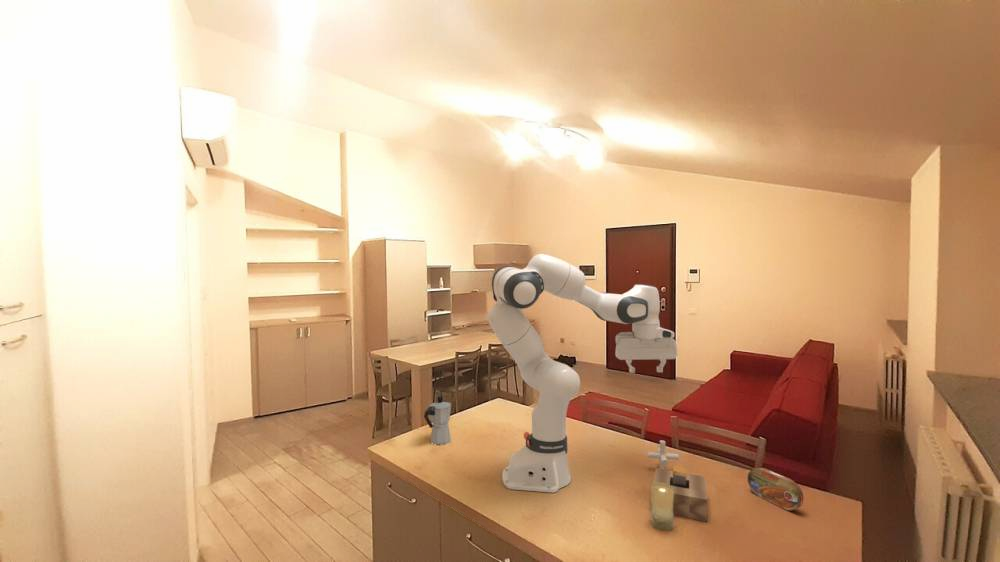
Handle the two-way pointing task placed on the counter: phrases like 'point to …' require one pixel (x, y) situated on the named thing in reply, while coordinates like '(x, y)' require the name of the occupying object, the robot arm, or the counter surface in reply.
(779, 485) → the tin
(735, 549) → the counter surface
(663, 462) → the pipe connector
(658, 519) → the yellow candle
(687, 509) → the bore block
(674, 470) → the square bit
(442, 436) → the coffee maker
